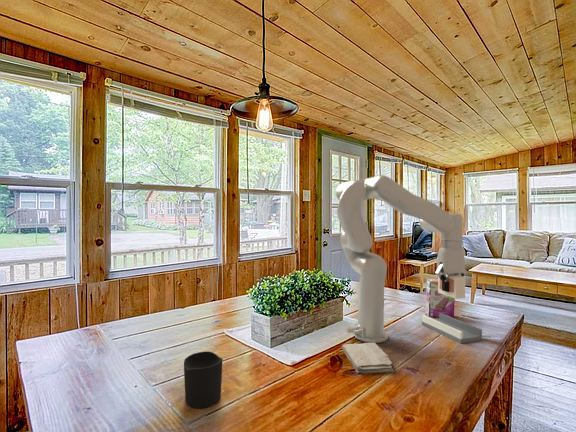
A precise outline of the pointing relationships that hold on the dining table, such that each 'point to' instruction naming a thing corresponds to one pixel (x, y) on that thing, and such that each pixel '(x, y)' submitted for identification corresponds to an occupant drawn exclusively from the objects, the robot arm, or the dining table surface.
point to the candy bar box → (438, 301)
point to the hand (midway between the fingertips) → (451, 290)
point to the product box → (453, 286)
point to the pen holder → (202, 379)
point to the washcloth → (367, 358)
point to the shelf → (453, 328)
